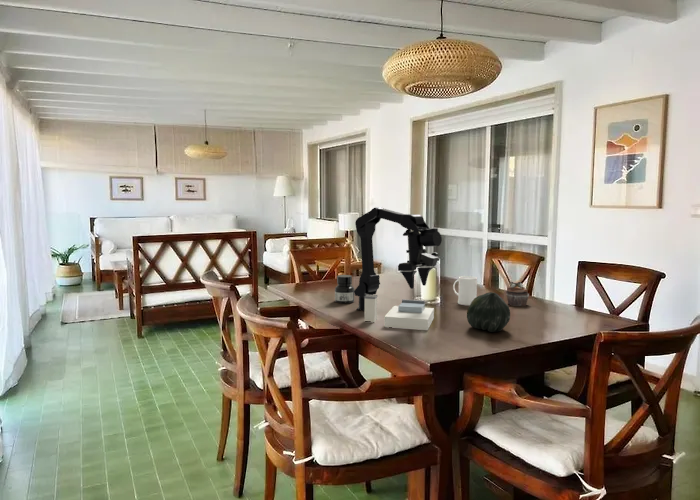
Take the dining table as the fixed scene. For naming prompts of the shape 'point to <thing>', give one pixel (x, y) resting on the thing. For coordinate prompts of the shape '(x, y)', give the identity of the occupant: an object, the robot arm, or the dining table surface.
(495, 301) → the squash
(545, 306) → the dining table surface
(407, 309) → the panel
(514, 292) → the cupcake
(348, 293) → the ink bottle
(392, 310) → the socket block
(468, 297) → the mug
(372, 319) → the peg
